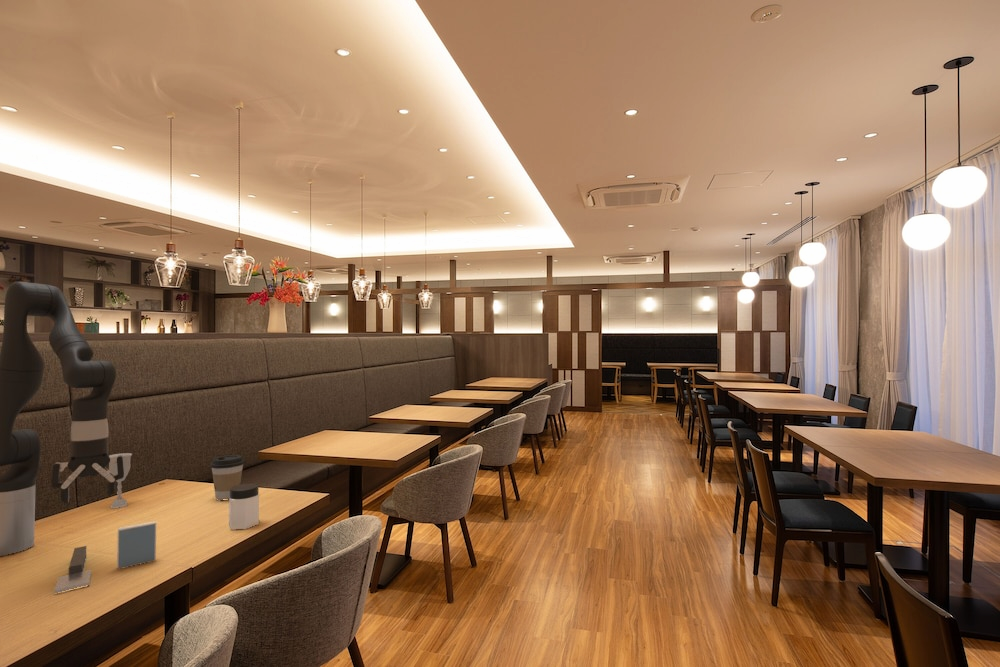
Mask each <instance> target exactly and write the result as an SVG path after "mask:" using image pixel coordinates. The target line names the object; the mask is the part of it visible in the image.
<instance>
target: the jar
mask: <svg viewBox="0 0 1000 667" xmlns="http://www.w3.org/2000/svg"><path fill="white" fill-rule="evenodd" d="M228 501H229V502H228V503H229V504H228V527H229V529H230V530H231V531H237V530H236V529H243V530H248V529H251V528H253V527H255V525H256V526H259V524H260V494H259V484H256V483H242V484H240V485H237V486H234V487H232V488H230V496H229V500H228ZM252 526H253V527H252ZM250 527H251V528H250ZM247 528H248V529H247Z"/></svg>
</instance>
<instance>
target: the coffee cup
mask: <svg viewBox="0 0 1000 667" xmlns="http://www.w3.org/2000/svg"><path fill="white" fill-rule="evenodd" d="M244 464H245V459H243V457H242V456H241V455H240V454H235V455H234V454H230V455H229V454H228V455H220V456H217V457H214V458H213V459H212V462H211V463H210V466H209V468H210V469H211V472H212V481H213V487H214V495H215V499H218V500H223V499H229V496H230V488H232V487H234V486H237V485H241V482H242V474H243V468H244V467H243V466H244ZM218 500H217V501H218Z"/></svg>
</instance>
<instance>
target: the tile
mask: <svg viewBox="0 0 1000 667" xmlns="http://www.w3.org/2000/svg"><path fill="white" fill-rule="evenodd" d="M116 543H117V548H116V550H117V551H116V554H117V556H116V562H117V563H116V569H117V568H122V569H124V568H123V567H126V568H129V567H128V566H131V567H133V566H132V565H135V566H137V565H136V564H140V563H144V564H146V563H145V562H148V563H152V562H151V561H153V562H156V561H157V521H156V520H154V521H149V522H144V523H138V524H132V525H128V526H121V527H117V542H116ZM155 560H156V561H155ZM140 565H141V564H140Z"/></svg>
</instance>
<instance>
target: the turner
mask: <svg viewBox="0 0 1000 667" xmlns="http://www.w3.org/2000/svg"><path fill="white" fill-rule="evenodd" d="M85 559H87V545H83V546H79V547H74V549H73V552H72V555H71V560H70V563H69V566H68V574H66V575H62V576H58V578H57V581H56V585H55V587H54V589H53V590H54V593H58V592H62V591H66V590H69V589H74V588H77V587H81V586H86V585H89V586H90V584H89V582H90V583H91V579H90V577H92V569H87V570H84V569H83V568H85V565H84V564H86V560H85ZM54 593H53V594H54Z"/></svg>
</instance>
